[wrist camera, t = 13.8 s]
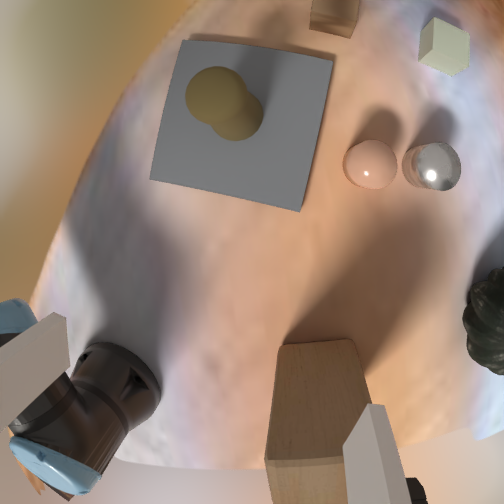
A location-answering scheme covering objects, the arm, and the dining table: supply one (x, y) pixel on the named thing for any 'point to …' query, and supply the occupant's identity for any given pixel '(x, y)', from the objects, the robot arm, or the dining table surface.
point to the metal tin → (432, 166)
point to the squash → (486, 322)
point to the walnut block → (334, 16)
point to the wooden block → (313, 421)
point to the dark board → (258, 145)
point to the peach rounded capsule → (370, 164)
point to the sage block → (444, 47)
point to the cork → (224, 103)
